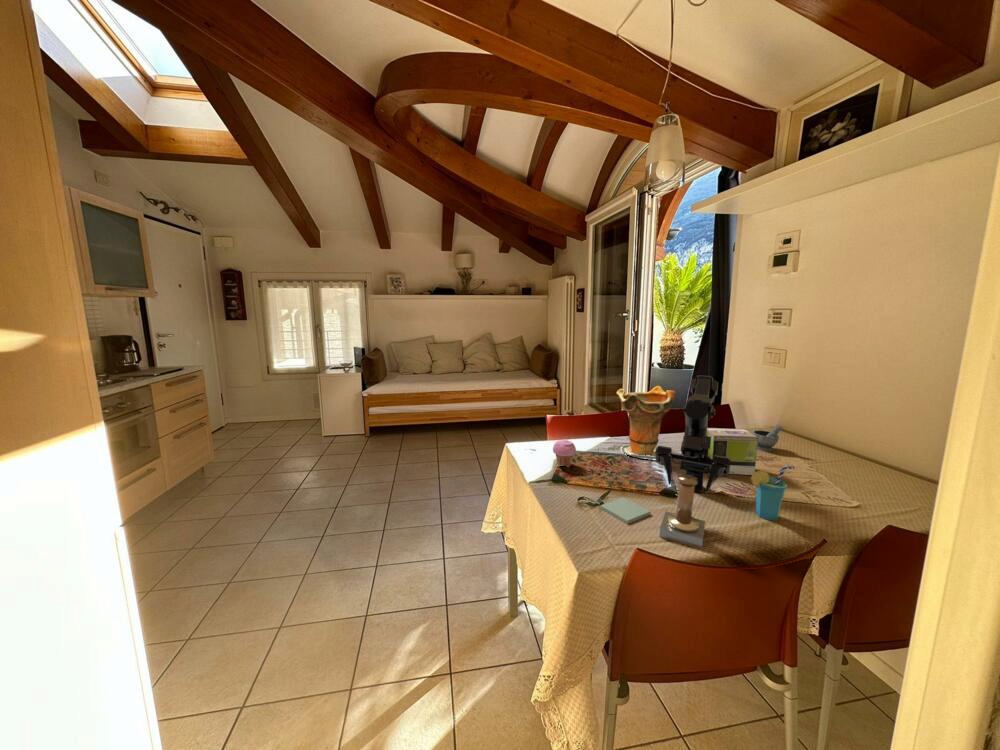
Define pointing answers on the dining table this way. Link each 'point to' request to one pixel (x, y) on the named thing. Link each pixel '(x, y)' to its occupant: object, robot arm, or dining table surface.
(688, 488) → the metallic flared cylinder
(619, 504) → the pad
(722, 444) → the tea box
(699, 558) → the dining table surface
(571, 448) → the cupcake
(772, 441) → the mortar and pestle
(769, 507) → the cup
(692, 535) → the bore block
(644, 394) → the decorative vase
